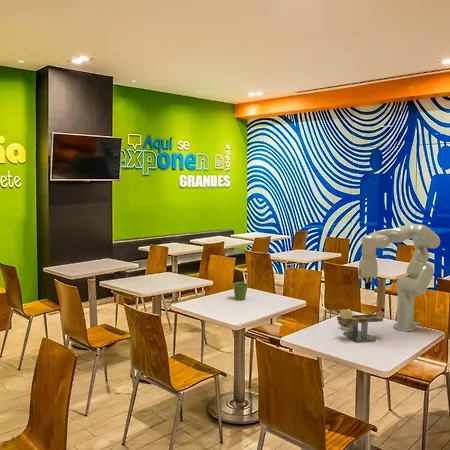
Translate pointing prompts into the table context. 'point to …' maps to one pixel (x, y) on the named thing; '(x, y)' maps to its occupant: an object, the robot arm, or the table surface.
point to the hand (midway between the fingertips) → (367, 288)
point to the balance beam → (359, 319)
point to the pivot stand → (359, 333)
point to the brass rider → (345, 314)
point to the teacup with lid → (349, 324)
